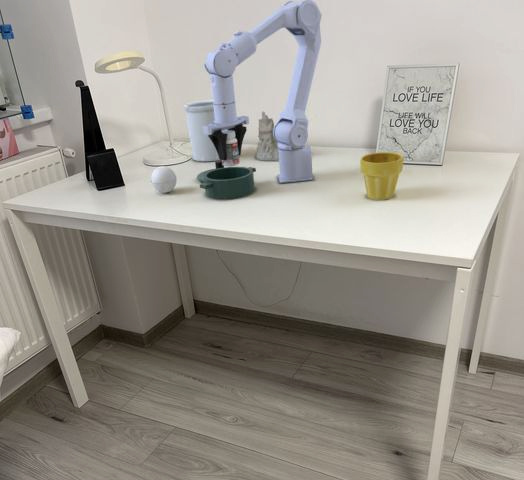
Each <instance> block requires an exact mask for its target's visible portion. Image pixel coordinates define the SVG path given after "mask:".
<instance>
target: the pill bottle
mask: <svg viewBox="0 0 524 480" xmlns="http://www.w3.org/2000/svg"><path fill="white" fill-rule="evenodd" d="M222 132H223V133H224V134H227V140H226V153H227V159H226V160H222V164H223V165H224V167H236V166H237V165H239V164H240V156H239V152H238V143H237V139H236V138H235V131H233V130H228V131H222Z"/></svg>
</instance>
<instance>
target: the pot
mask: <svg viewBox="0 0 524 480" xmlns="http://www.w3.org/2000/svg"><path fill="white" fill-rule="evenodd" d="M213 169H214V170H211V169H210V170H211V171H209V172H207V173H205V174H204V175H203V177H204V182H203V183H199V188H200V189H203V190H204V191H205V196H206V197H207V198H208V199H212V200H219V201H220V200H221V201H226V200H236V199H241V198H245V197H248V196H250V195H252V194H253V193H254V192H255V191H256V190H255V188H256V187H255V177H254V176H255V175H254V173H256V172H257V169H256V167H251V166H249V167H246V166H224V168H219V169H216V168H213Z"/></svg>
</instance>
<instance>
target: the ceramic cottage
mask: <svg viewBox="0 0 524 480" xmlns="http://www.w3.org/2000/svg"><path fill="white" fill-rule="evenodd" d="M274 126H275V122H274V119H273V118H272V117H271V118H269V116H268V115H267V114H266V112H265V111H264V110H263V111H261V119H260V118H259V119H258V136H257V137H258V138H259V139H258V142H257V146H256V147H257V148H256V156H255V157H256V159H257V160H259V161H270V162H271V161H275V162H277V161H278V162H279V151H278V142H277V141H276V140H275V139H274V137H273V129H274Z"/></svg>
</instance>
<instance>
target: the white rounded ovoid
mask: <svg viewBox="0 0 524 480" xmlns="http://www.w3.org/2000/svg"><path fill="white" fill-rule="evenodd" d="M177 181H178V180H177V174H176V173H175V172H174V170H173V169H172V168H171V167H169V166H165V165H162V166H158V167H156V168H154V170H153V171H152V173H151V176H150V183H151V185H152V187H153V188H154V189H155V190H156V191H157V192H159V193H161V194H167V193H170V192H172V191H173V190H174V189H175V188H176V185H177Z"/></svg>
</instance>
